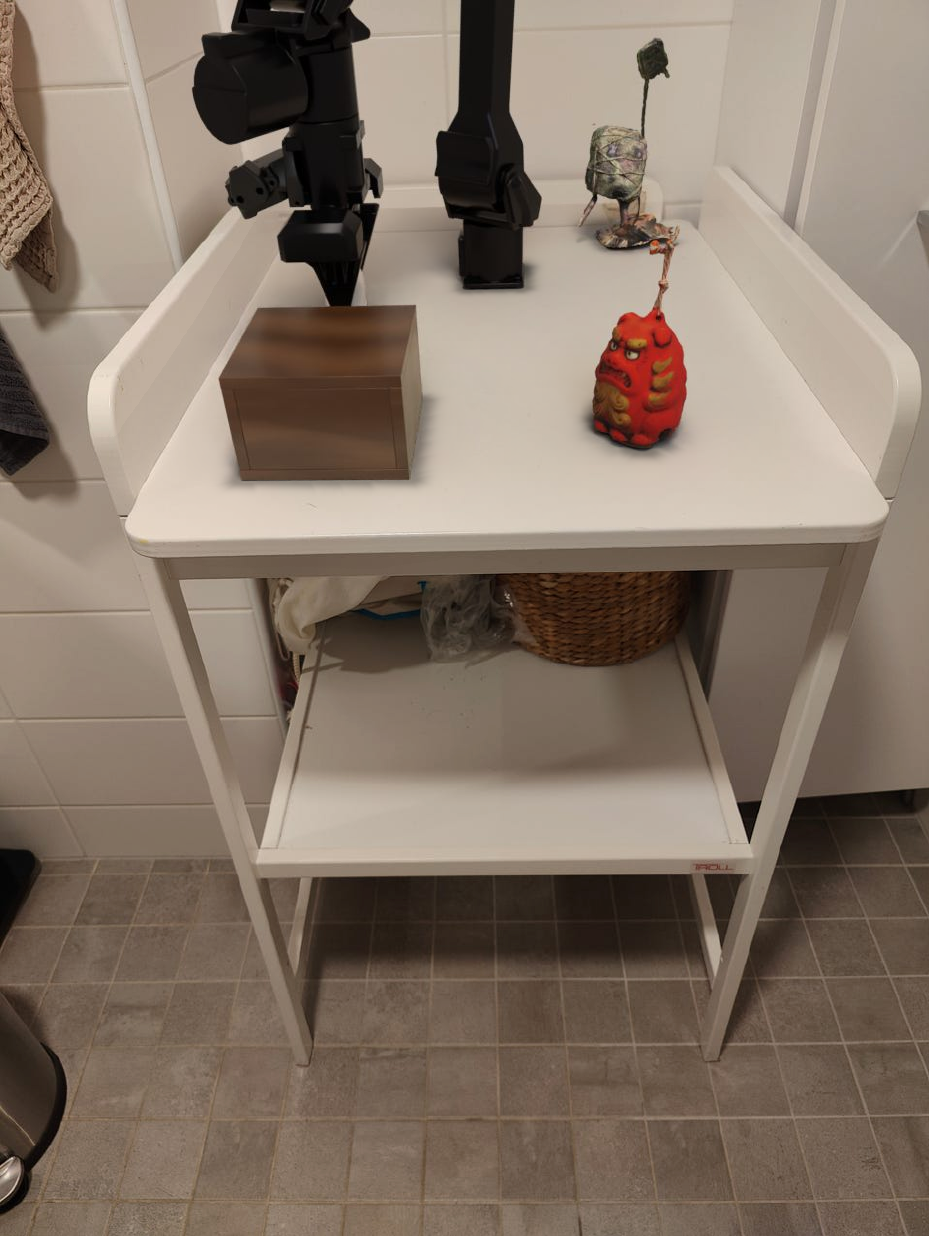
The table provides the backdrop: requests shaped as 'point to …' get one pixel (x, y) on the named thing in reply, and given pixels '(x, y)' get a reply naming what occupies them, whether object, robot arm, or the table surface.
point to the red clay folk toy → (642, 374)
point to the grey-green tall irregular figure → (626, 165)
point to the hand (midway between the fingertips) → (346, 305)
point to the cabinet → (325, 393)
